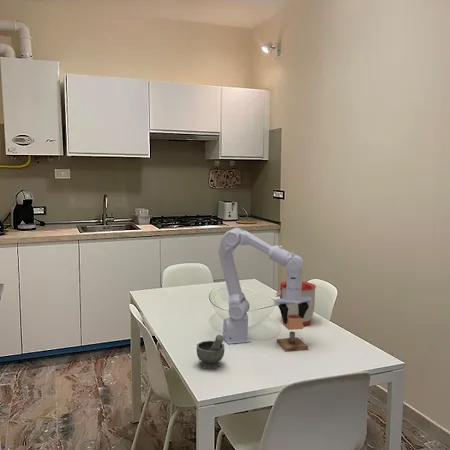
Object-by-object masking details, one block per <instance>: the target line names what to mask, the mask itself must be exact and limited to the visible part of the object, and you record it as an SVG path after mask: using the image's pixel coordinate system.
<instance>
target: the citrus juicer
mask: <svg viewBox="0 0 450 450" xmlns="http://www.w3.org/2000/svg"><path fill="white" fill-rule="evenodd" d="M286 283H287V280H286V281H283V282H282V281H281V282H280V285H279V287H280V289H279V290H278V291H276V293H275V298H278V297H279V299H281V298H286ZM316 288H317V286H316V285H315V284H314V283H312V282H308V281H303V280H302V291H301V297H310V298H312V303H311V304H309V303H308V305H309V308H308V309H307V311H306V313H305V315H304V318H303V327H307V326H308V325H310V324H311V321H312V318H313V315H314V312H315V305H316V304H315V303H316V302H315V300H316V298H315V297H316ZM286 306H287V307H288V308H289V309H288V314H287V315H289V314H298V313H299V311H298V304H288V305H286ZM279 311H280V310H279ZM280 316H281V319H282V321H283V318H282V314H281V311H280Z"/></svg>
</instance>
